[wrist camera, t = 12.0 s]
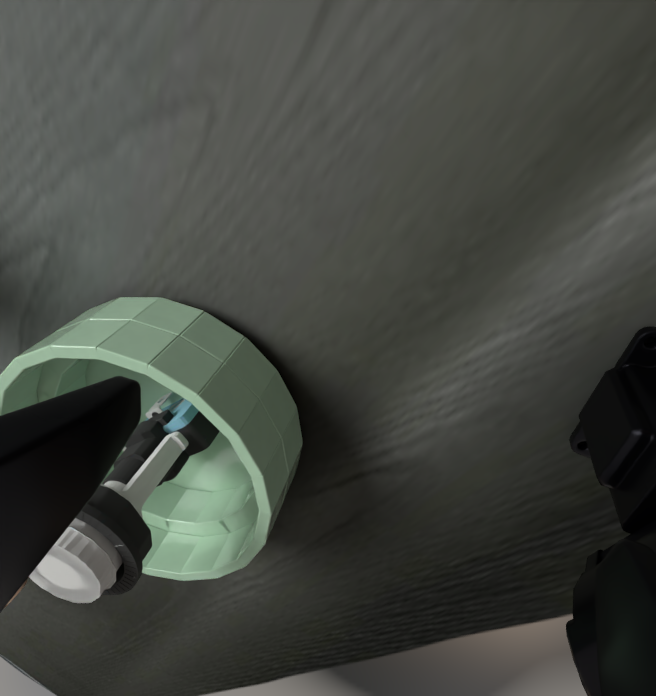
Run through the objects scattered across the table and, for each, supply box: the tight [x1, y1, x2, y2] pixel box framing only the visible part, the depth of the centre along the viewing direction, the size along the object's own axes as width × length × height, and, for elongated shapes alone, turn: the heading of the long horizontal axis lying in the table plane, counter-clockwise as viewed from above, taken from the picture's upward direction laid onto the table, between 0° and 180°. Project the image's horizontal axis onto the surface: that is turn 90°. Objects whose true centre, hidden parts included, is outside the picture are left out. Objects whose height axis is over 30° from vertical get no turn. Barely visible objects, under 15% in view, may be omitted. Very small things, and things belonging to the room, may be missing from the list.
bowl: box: [0, 297, 303, 581], centre depth 25 cm, size 14×14×6 cm
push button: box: [29, 392, 220, 603], centre depth 23 cm, size 7×5×10 cm
